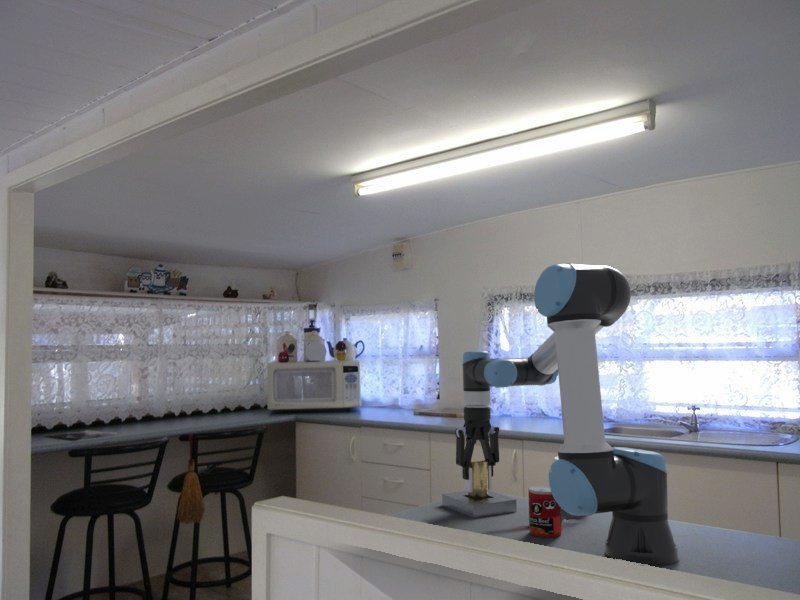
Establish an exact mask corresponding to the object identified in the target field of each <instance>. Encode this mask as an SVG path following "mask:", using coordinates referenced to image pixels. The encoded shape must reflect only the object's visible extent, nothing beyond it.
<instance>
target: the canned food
mask: <svg viewBox="0 0 800 600" xmlns="http://www.w3.org/2000/svg"><path fill="white" fill-rule="evenodd" d="M528 518H529V519H528V521H529V522H528V523H529V524H528V525H529V532H530V534H531V535H532V536H534V537H537V538H543V539H544V538H545V539H546V538H547V539H549V538H558V537H559V536H561V534H562V530H563V529H562V509H561V507H560V506H559V504H558V503H557V502H556V500H555V499H554V497H553V495H552V492H551V489H550V485H547V484H545V485H539V484H538V485H533V486H530V487H528Z"/></svg>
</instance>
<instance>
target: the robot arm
mask: <svg viewBox="0 0 800 600" xmlns="http://www.w3.org/2000/svg"><path fill="white" fill-rule="evenodd" d="M631 294H632V293H631V286H630V284H629V280H628V279H627V278H626V277H625V275H624V274H623V273H622V272H621V271H620V270H618V269H616V268H613V267H611V266H609V265H602V264H601V265H594V264H579V263H569V262H568V263H567V262H566V263H561V264H559V263H557V264H551V265H549V266H548V267H546V268H545V269H543V271H542V272H541V273H540V275H539V277H538V279H537V281H536V283H535V286H534V291H533V301H534V305H535V308H536V310H537V312H538V313H539V314H540V315H541V316H542V317H545V318H546V323H547V324H546V325H547V327H548V329H550V330H551V331H552V332H553V333H551V335H549V336H548V338H547V339H546V340H545V341H544V342H543V343H542V344H541V345H540V346H538V348H537V349H536V350H535V351H534V352H533V353H532V354H531V355H530V356H529V357H515V358H513V357H512V358H511V357H509V358H502V357H501V358H490V357H491V356H490V353H489V352H488V351H487V350H469V351H464V352H463V355H462V365H461V366H462V384H463V385H462V389H463V391H462V392H463V393H462V395H463V405H465V406H464V407H463V420H464V421H463V422H464V423H463V426H462V427H461V428H458V429H457V428H456V429H454V434H455V438H456V441H455V451H456V452H455V465H456V466H459V467H461V468H462V479H463V480H464V491H468V492H473V484H472V468H470V463H471V460H472V459H473V454H474V453H473V452H474V450H475V449H474V448H475V444H477V441H478V442H480V446H481V449H482V453H483V458H484V460H487V461H488V490H489V491H491V490H492V485H493V484H492V478H493V477H494V466H496V464H497V463H500V449H499V445H500V444H499V433H500V427H499V426H493V425H491V421H490V420H491V419H492V418H491V407H490V406H491V387H492V388H493V387H494V388H496V389H499V388H508V387H520V386H545V385H552V384H554V383H555V382H556V380H557V379H558V383H559V384H558V385H559V397H560V407H561V420H562V421H561V422H562V430H563V433H562V434H563V444H562V445H561V446H560V447H559V448H558V449H557V457H558V458H559V460H557V461H556V462H554V461H553V462H552V464H551V465H550V469H549V470H548V484H549V485H548V486H550V489H551V492H552V495H553V497H554V499H555V500H556V502H557V503H558V504H559V506H560V507H561V508H562V509H561V510H563V511H564V512H566V513H567V514H569V515H571V516H593V515H597V514H604V513H612V516H611V521H610V526H609V529H608V534H607V537H606V539H605V543H604V549H605V550H604V551H605V555H606V556H608V557H609V558H610V557H612V558H616V559H622V560H626V561H630V562H636V563H641V564H648V565H654V566H653V567H655V566H656V567H660V566H661V567H662V566H668V565H671V564H674V563H676V562H677V561H678V559H679V550H678V546H677V543H675V541H674V536H673V533H672V530H671V529H672V528H671V526H670V523H669V513H668V509H669V507H668V504H669V503H668V471H667V465H666V463H667V462H666V459H665V457H664V456H663V455H662V454H661V453H659V452H656V451H651V450H646V449H645V450H644V449H639V448H631V447H630V448H629V447H623V446H622V447H621V446H620V447H619V446H618V447H617V446H614V447H612V446H611V445H610V444H609V443H608V442H607V441H606V436H605V427H604V426H605V425H604V415H603V405H602V394H601V393H602V391H601V383H600V382H601V381H600V374H599V360H598V352H597V339H596V335H597V334H598V333H599V332H600V331H601V330H602V329H603V328H607V327H611V326H612V325H614V324H615V323H616V322H617V321H618V320H619V319H620V318H621V317H623V315H624V314H625V312H626V311H627V309H628V308H629V305H630V302H631V298H632V297H631V296H632V295H631ZM465 436H466V437H465ZM612 558H611V559H612Z"/></svg>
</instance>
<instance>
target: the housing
mask: <svg viewBox="0 0 800 600" xmlns="http://www.w3.org/2000/svg"><path fill="white" fill-rule="evenodd" d="M488 493H489V498H488V499H480V500H473V499H470V498H468V491H465V490H463V491H455V492H454V491H453V492H447V493H441V506H442V507H445V508H447V509H450V510H453V511H455V512H457V513H459V514H462V515H465V516H468V517H470V518H471V519H476V518H482V517H489V516H496V515H497V516H498V515H503V514H511V513H516V512H518V511H517V509H518V508H517V507H518V506H517V499H516V498H513V497H510V496H507V495H503V494H500V493H497V492H494V491H491V490H488Z"/></svg>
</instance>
